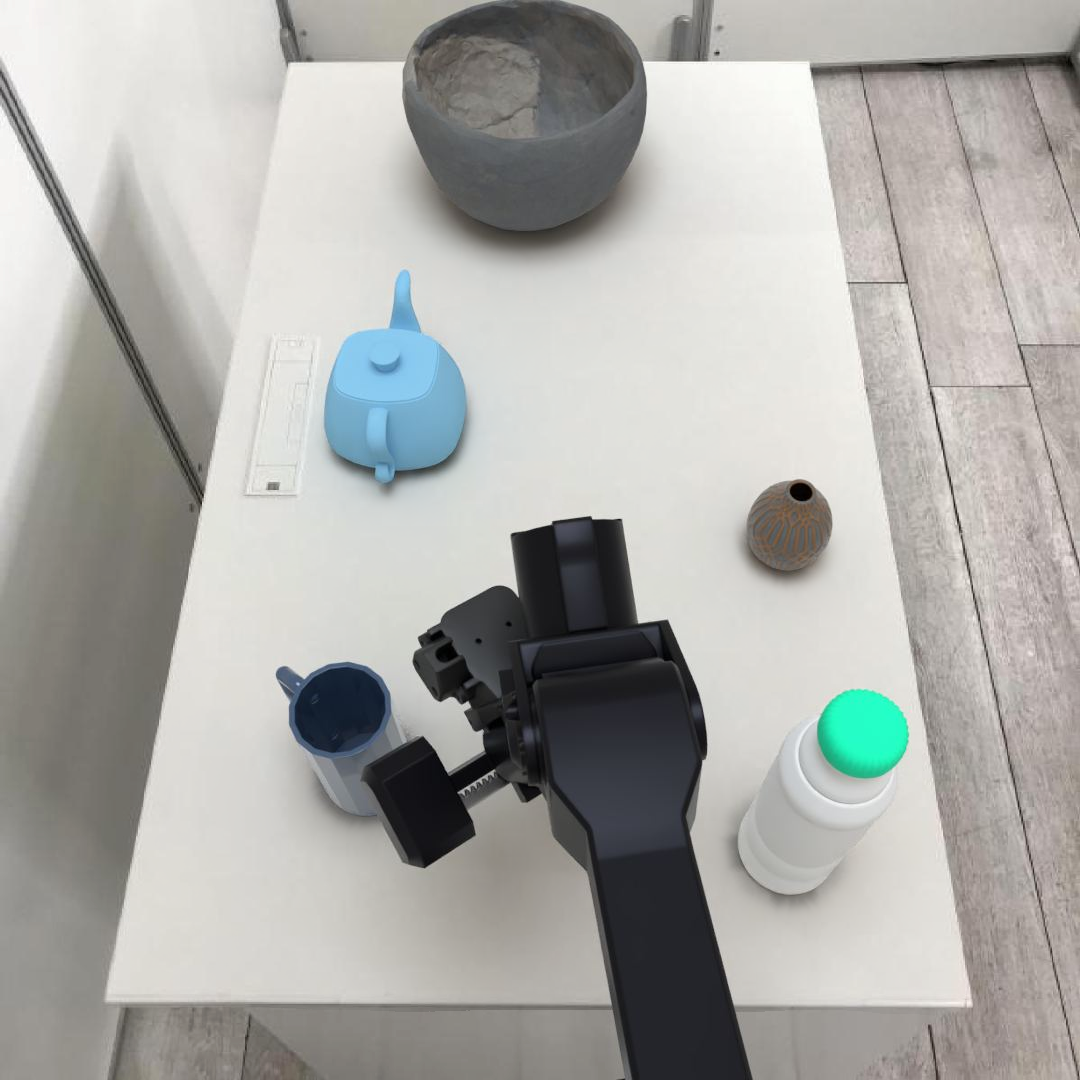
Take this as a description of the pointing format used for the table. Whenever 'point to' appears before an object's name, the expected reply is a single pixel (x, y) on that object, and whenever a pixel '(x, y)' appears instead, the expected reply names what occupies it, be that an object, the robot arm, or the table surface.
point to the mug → (342, 726)
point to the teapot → (394, 395)
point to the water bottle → (823, 791)
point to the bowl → (525, 109)
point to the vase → (789, 525)
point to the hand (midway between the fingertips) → (481, 740)
